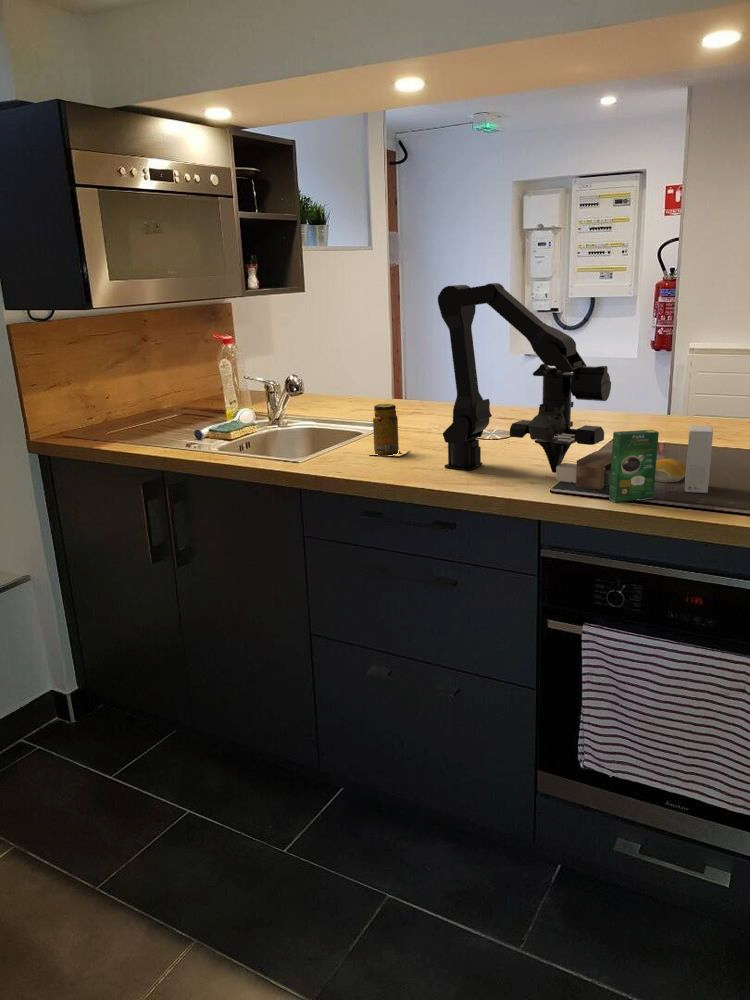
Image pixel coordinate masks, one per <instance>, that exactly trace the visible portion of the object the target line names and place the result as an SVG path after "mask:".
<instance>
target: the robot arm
mask: <svg viewBox="0 0 750 1000" xmlns="http://www.w3.org/2000/svg"><path fill="white" fill-rule="evenodd" d="M437 304H438V308H439V312H440V315H441V318H442V320H443V322H444V323H445V325H446V327H447V328H448V331H449V338H450V339H449V340H450V345H451V346H450V348H451V355H452V364H453V372H454V380H455V381H454V382H455V391H456V398H455V401H454V405H453V407H452V423H451V424H450V425H449V426H448V427H447V428H446V429H445V430H444V431H443V433H442V437H443V439H444V442H445V443H447V464H444V466H443V467H444V468H447V469H453V470H454V469H455V470H459V471H460V470H461V471H471V470H474V469H475V468H478V467H480V466H481V467H482V466H483V464H484V463H483V462H482V461H481V459H482V457H481V455H482V454H481V451H482V450H481V449H482V448H481V446H480V439H479V438H481V437H482V435H483V432H484V430H485V429H486V428H487V427H488V425H489V424H490V418H492V417H493V415H492V413H491V407H490V405H491V404H490V403H491V402H490V399H489V398H486V399H484V398H483V397H482V395H481V393H480V390H479V383H478V382H479V381H478V372H477V364H476V356H475V346H474V339H473V338H474V337H473V332H472V331H473V329H472V325H473V322H474V318H475V315H476V309H477V308H476V307H477V306H478V305H483V304H485V305H486V304H487V305H488V306H489V307H490V308H491V309H493V310H494V311H495V313H497V314H498V315H499V316H501V317H502V318H503V319H504V320H505V321H507V322H508V323H509V324H510V325H511V326H512V327H513V328H514V329H515V330H516V331H518V332H519V334H522V336H523V337H525V339H526V340H527V341H528V342H529V344H530V347H531V348H532V350H533V351H534V353H535V354H536V356H537V357H538V358H539V359H540V361H541V362H542V364H541V363H540V365H539V366H538V368H537V369H536V370H535V371H534V372H532V376H534V377H542V403H541V404H539V407H538V413H537V414H536V415H535V416H534V417H533V418H532V419H531V420H528V419H521V420H518V421H516V422H513V423H512V424H511V425H510V427H509V437H511V438H517V439H518V438H519V439H523V438H524V437H525V436H527V434H529V438H530V440H534V443H535V444H538V445H539V446H540V447H542V449H543V451H544V452H545V455H546V458H547V461H548V464H549V466H550V470H551V472H552V473H555V474H556V466H558V465H560V464H562V463H563V461H564V458H565V456H566V454H567V452H568V450H569V449H570V448H571V445H572V444H575V443H577V444H578V445H588V446H594V445H597V444H598V443H600V442H603V441H605V431H604V429H603V427H602V426H598V425H586V424H585V425H583V426H581V427H578V428H572V427H573V426H574V422H573V421H571V413H572V408H574V401H572V396H573V397H575V399H576V400H577V401H578V400H579V401H581V400H582V401H599V402H606V401H607V400H608V399H609V397H610V395H611V389H612V381H611V377H610V374H609V372H608V365H600V366H587V364H586V362H585V361H584V360H583V358H582V357H581V355H580V353H579V352H578V350H577V343H576V341H575V339H574V338H573V337H572V336H569V334H566V333H565V332H564V331H561V330H559V329H558V328H555V327H553V326H551V325H548V324H547V323H545V322H543V321H542V320H541V319H540V318H539V317H537V316H536V315H535V314H534V313H533V312H532V311H531V310H530V309H529V308H527V307H526V306H525V305H524V304H522V303H521V302H520V301H519V300H518V299H517V298H515V296H513V295H512V294H511V293H510V292H509V291H508V290H506V289H505V287H504V286H503V284H500V283H497V282H492V283H486V284H484V285H477V286H472V287H470V285H467V284H457V285H456V284H455V285H447V286H444V287H443V288H442V289H441V291H440V292H439V293H438V295H437Z"/></svg>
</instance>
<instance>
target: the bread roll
mask: <svg viewBox="0 0 750 1000" xmlns="http://www.w3.org/2000/svg"><path fill="white" fill-rule="evenodd" d="M685 476H686V466H684V464H683V463H682V462H681V461H678V460H676V459H673V458H662V459H657V460H656V472H655V481H657V483H665V482H666V483H675V482H680V481H681V480H682V479H685ZM666 483H665V484H666Z"/></svg>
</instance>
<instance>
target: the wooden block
mask: <svg viewBox="0 0 750 1000" xmlns="http://www.w3.org/2000/svg"><path fill="white" fill-rule="evenodd" d="M611 460H612V452H608V451H600V450H599V451H597V450H595V451H594V452H591V453H589V454H587V455H586V456H583V457H581V458H579V459H577V460H576V464H577V469H576V483H575V487H576V488H581V487H582V488H583V489H588V488H591V489H590V490H595V489H601V488H603V487H604V488H605V485H604V472H605V470H611ZM604 488H603V489H604ZM601 490H602V489H601Z"/></svg>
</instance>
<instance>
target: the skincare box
mask: <svg viewBox="0 0 750 1000" xmlns="http://www.w3.org/2000/svg"><path fill="white" fill-rule="evenodd" d="M713 434H714V428H713V426H712V425H691V424H690V425H689V431H688V442H687V443H688V444H687V455H686V466H685V468H686V476H685V477H684V492H686V493H698V494H699V493H700V494H702V493H703V494H708V492H709V482H710V473H711V471H710V470H711V460H712V450H713V449H712V447H713V439H714V438H713V437H714V436H713Z"/></svg>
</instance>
